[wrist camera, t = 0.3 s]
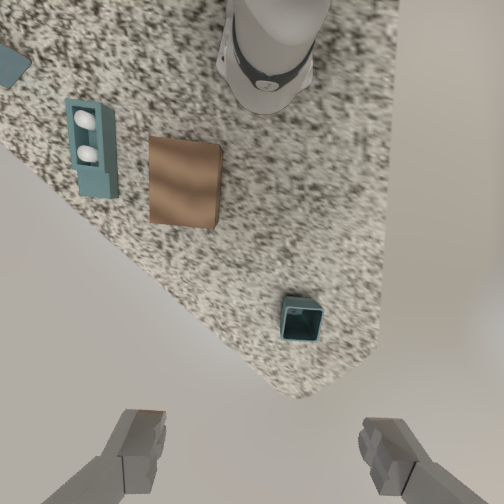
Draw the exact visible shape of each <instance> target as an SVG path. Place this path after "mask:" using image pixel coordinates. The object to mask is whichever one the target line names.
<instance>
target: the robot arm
mask: <svg viewBox="0 0 504 504" xmlns="http://www.w3.org/2000/svg"><path fill="white" fill-rule="evenodd" d="M330 3H331V0H228V1H227V7H226V16H227V18H226V22H225V27H224V31H223V35H222V40H221V44H220V48H219V53H218V57H217V61H216V69H217V72H218V73H219V74H220V75H221V77H223V78H224V79H225V80H226V81H227V82H228V84H229V86H230V88H231V90H232V92H233V94H234V96H235V98H236V99H237V100H238V102H239V103H240V104H241V105H242V106H243V107H245V108H246V109H248V110H249V111H252V112H254V113H257V114H272V113H275V112H278V111H280V110H282V109H283V108H284V107H286V106H287V105H288V104H289V103H290V102H291V101H292V99H293V98H294V97H295V95H296V94H297V93H298V92H300V91H302V90H304V89H305V88H307V87H308V86H309V85H310V84H311V82H312V79H313V60H312V49H313V46H314V43H315V38H316V36H317V34H318V32H319V30H320V28H321V26H322V25H323V23H324V21H325V18H326V16H327V14H328V11H329V7H330ZM222 58H224V61H222ZM165 420H166V411H152V410H136V409H135V410H134V409H126V410H125V411H124V412H123V413H122V415H121V417H120V419H119V421H118V423H117V425H116V427H115V429H114V431H113V433H112V434H111V436H110V439H109V440H108V442H107V445H106V447H105V448H104V450H103V452H102V454H101V456H96V457H95V458H93V459H92V460H91V461H90V462H89V463H88V464H86V465H85V466H84V467H83V468H82V469H81V470H80V471H79V472H77V473H76V474H75V475H74V476H73V477H72V478H70V479H69V480H68V481H67V482H66V483H65V484H64V485H62V486H61V487H60V488H59V489H58V490H57V491H56V492H55V493H53V494H52V495H51V496H50V497H49V498H48V499H46V500H45V501H44V502H43V503H42V504H118V503H119V502H120V501H121V500H122V499H123V497H124V494H149V493H150V492H151V489H152V485H153V482H154V478H155V475H156V472H157V460H158V459H159V458H160V457H161V454H162V451H163V447H164V441H165V436H166V426H165V425H164V423H165ZM363 426H364V429H363V430H362V431H360V433H359V437H358V442H359V449H360V452H361V455H362V457H363V460H364V461H365V462H366V463H367V464H368V465H369V466H370V467H371V468H370V475H371V477H372V480H373V482H374V484H375V486H376V489H377V491H378V493H379V495H386V496H402V497H401V498H402V499H403V500H404V501H405V502H406V503H407V504H488V503H487V502H486V501H484V500H483V499H482V498H481V497H479V496H478V495H477V494H475V493H474V492H473V491H472V490H470V489H469V488H468V487H467V486H465V485H464V484H463V483H462V482H461V481H459V480H458V479H457V478H456V477H454V476H453V475H452V474H450V473H449V472H448V471H447V470H446V469H444V468H443V467H442V466H440V465H439V464H438V463H434V462H432V460H431V458H430V457H429V456H428V454H427V453H426V451H425V450H424V448H423V447H422V446H421V444H420V443H419V441H418V440H417V438H416V437H415V435H414V434H413V433H412V431H411V430H410V428H409V427H408V425H407V424H406V423H405V421H404V420H402V419H397V418H396V419H394V418H365V419H364V421H363Z"/></svg>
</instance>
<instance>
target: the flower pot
mask: <svg viewBox="0 0 504 504" xmlns="http://www.w3.org/2000/svg"><path fill="white" fill-rule="evenodd" d="M293 310H294V312H293ZM323 316H324V309H323V308H322V307H321V306H320V305H319V304H318V303H317V302H316V301H315V300H313V299H311V298H306V297H293V296H286V297H284V301H283V308H282V315H281V321H280V333H281V340H284V341H301V342H318V340H319V335H320V329H321V324H322V320H323Z"/></svg>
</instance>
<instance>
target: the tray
mask: <svg viewBox="0 0 504 504" xmlns="http://www.w3.org/2000/svg"><path fill="white" fill-rule="evenodd" d="M65 101H66V111H67V122H68V132H69V142H70V153H71V163H72V169H74V170H77V172H78V183H79V194H80V196H88V197H98V198H108V199H113V198H119V193H118V172H117V150H116V129H115V111H114V110H112V109H110V108H108V107H107V106H105V105H103V104H102V103H97V102H90V101H82V100H75V99H68V98H65Z"/></svg>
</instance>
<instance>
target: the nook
mask: <svg viewBox="0 0 504 504" xmlns="http://www.w3.org/2000/svg"><path fill="white" fill-rule="evenodd" d="M222 162H223V150H222V148H221V146H220V145H218V144H210V143H203V142H195V141H187V140H179V139H171V138H163V137H155V136H149V196H150V223H156V224H166V225H177V226H187V227H197V228H208V229H214V228H215V226H216V225H217V223H218V219H219V204H220V190H221V176H222Z"/></svg>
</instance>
